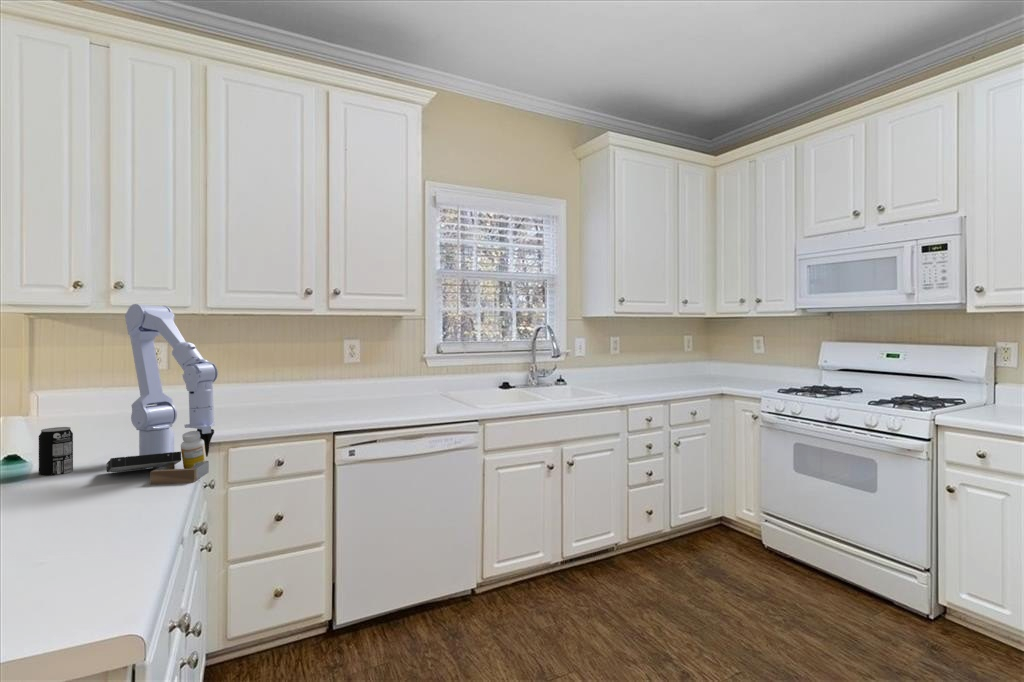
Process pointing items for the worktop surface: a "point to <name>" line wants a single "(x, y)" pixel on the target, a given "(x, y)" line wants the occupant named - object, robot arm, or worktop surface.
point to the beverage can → (55, 451)
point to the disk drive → (142, 461)
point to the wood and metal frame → (178, 473)
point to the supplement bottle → (192, 449)
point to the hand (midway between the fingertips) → (202, 457)
